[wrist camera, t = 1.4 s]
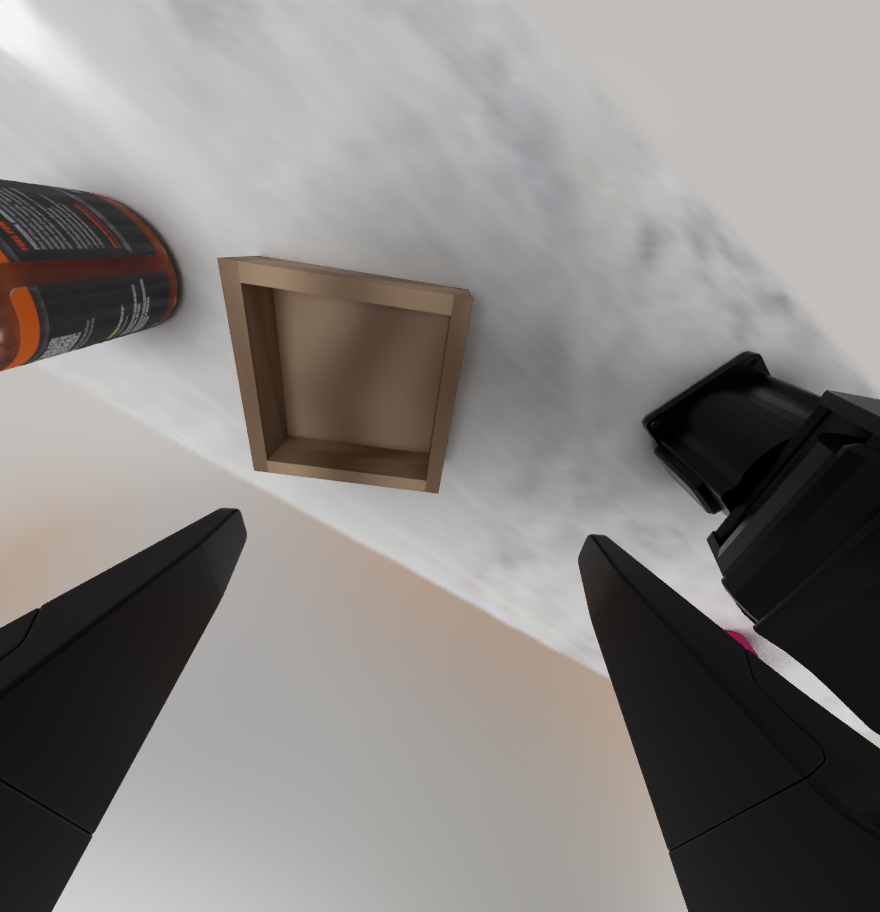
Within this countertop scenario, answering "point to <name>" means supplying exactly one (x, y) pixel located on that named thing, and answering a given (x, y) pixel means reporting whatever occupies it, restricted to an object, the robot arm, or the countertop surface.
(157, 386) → the countertop surface
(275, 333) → the wooden box
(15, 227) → the supplement bottle
